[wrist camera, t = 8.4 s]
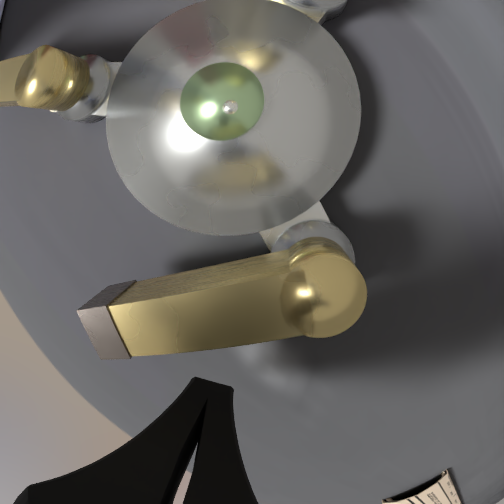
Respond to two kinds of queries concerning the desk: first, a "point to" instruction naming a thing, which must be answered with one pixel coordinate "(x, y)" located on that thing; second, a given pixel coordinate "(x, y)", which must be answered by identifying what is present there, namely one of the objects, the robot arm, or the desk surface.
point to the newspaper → (433, 494)
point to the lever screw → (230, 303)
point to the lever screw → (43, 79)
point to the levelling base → (232, 118)
